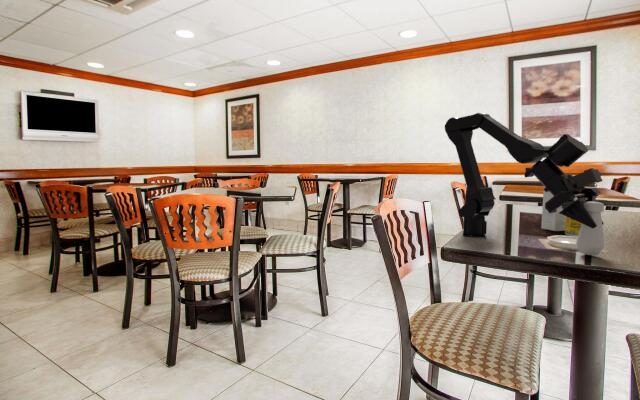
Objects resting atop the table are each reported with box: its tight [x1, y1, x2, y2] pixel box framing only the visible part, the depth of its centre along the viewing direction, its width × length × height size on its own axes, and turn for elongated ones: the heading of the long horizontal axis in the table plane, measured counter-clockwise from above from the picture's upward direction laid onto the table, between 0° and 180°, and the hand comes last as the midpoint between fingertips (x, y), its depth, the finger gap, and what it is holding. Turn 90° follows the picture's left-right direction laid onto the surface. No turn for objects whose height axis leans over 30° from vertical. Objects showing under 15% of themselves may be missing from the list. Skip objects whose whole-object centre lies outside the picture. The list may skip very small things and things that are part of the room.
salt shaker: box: [576, 201, 606, 256], centre depth 92 cm, size 6×6×13 cm
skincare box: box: [540, 186, 566, 232], centre depth 124 cm, size 8×6×15 cm
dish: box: [546, 234, 579, 251], centre depth 104 cm, size 11×11×2 cm
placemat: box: [537, 238, 608, 253], centre depth 104 cm, size 14×12×1 cm
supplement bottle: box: [564, 216, 582, 237], centre depth 116 cm, size 5×5×10 cm
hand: (598, 226), depth 91 cm, fingers closed on salt shaker, 3 cm apart
